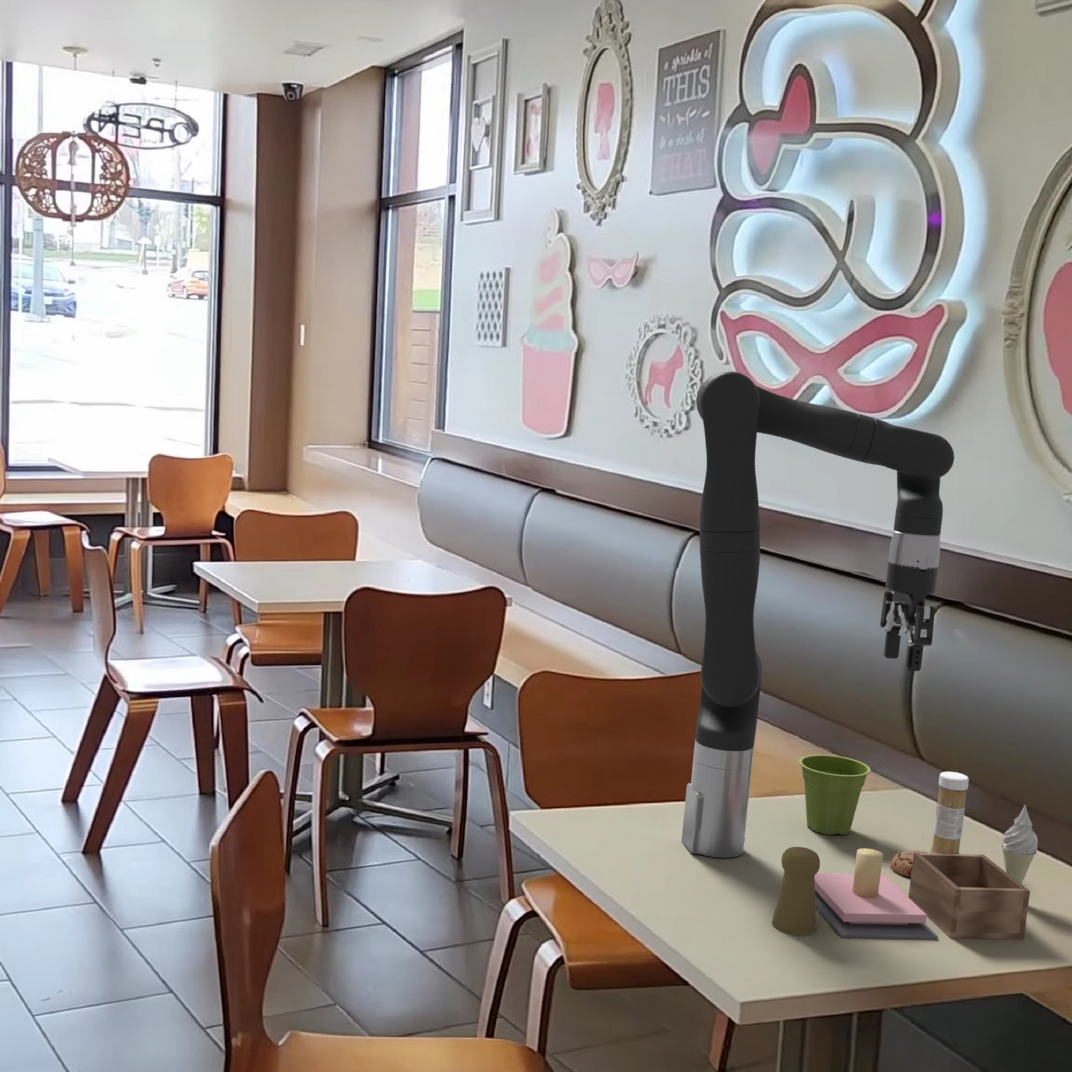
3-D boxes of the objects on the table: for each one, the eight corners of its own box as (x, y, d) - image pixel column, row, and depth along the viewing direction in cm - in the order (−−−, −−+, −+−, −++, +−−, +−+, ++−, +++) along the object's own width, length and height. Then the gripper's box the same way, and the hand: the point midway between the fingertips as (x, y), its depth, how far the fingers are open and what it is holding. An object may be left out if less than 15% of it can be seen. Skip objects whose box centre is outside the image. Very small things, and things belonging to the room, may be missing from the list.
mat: (840, 937, 189) (841, 934, 189) (795, 884, 207) (795, 881, 207) (937, 939, 191) (937, 936, 191) (883, 886, 209) (884, 883, 209)
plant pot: (790, 813, 241) (797, 751, 240) (860, 822, 240) (867, 759, 238) (793, 836, 229) (800, 770, 228) (866, 845, 228) (874, 778, 227)
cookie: (877, 864, 220) (879, 846, 219) (931, 860, 224) (933, 842, 224) (917, 888, 211) (919, 869, 210) (972, 883, 215) (975, 864, 215)
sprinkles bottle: (941, 847, 229) (950, 769, 228) (965, 856, 226) (974, 777, 224) (924, 852, 226) (934, 772, 225) (948, 861, 223) (958, 780, 221)
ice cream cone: (1013, 908, 205) (1025, 810, 203) (987, 896, 209) (999, 799, 207) (1037, 905, 207) (1050, 808, 205) (1011, 892, 211) (1023, 797, 209)
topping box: (949, 937, 192) (955, 889, 191) (908, 898, 205) (913, 852, 204) (1023, 939, 193) (1030, 891, 192) (977, 899, 207) (983, 854, 206)
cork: (806, 939, 187) (815, 861, 186) (764, 926, 190) (772, 849, 189) (822, 925, 192) (830, 849, 191) (781, 913, 195) (789, 838, 194)
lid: (842, 928, 191) (849, 871, 190) (806, 886, 206) (811, 833, 204) (924, 930, 193) (931, 873, 192) (882, 888, 207) (888, 835, 206)
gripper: (872, 553, 221) (861, 653, 223) (909, 567, 207) (897, 673, 209) (917, 556, 222) (905, 655, 224) (956, 570, 208) (944, 676, 210)
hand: (901, 664), depth 216 cm, fingers open, 8 cm apart
